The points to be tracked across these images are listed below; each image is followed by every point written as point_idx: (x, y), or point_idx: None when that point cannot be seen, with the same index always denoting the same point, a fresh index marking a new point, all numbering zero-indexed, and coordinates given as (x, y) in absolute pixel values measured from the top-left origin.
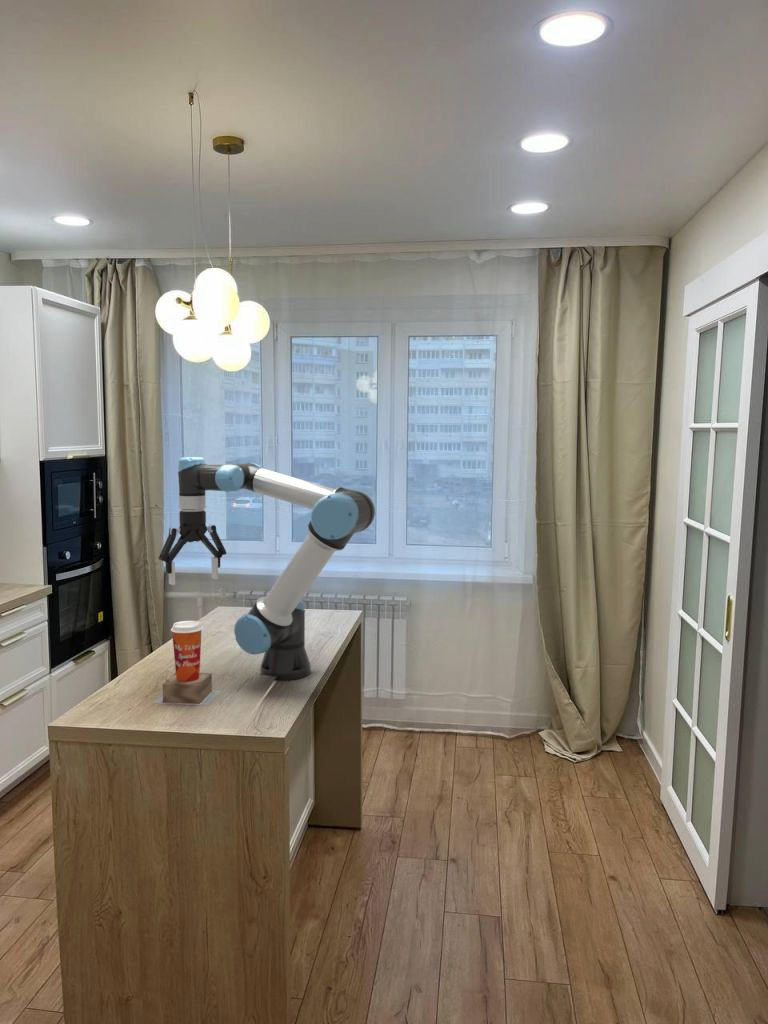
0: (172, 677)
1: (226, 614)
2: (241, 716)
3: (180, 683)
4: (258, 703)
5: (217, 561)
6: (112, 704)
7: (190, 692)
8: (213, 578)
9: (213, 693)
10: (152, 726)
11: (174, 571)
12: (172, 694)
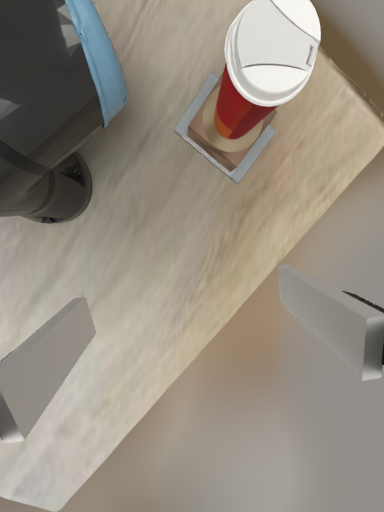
0: (252, 138)
1: (63, 484)
2: (177, 9)
3: None
4: (135, 55)
5: (4, 360)
6: (311, 178)
7: None
8: (91, 318)
9: (188, 122)
10: None
11: (320, 288)
12: None
